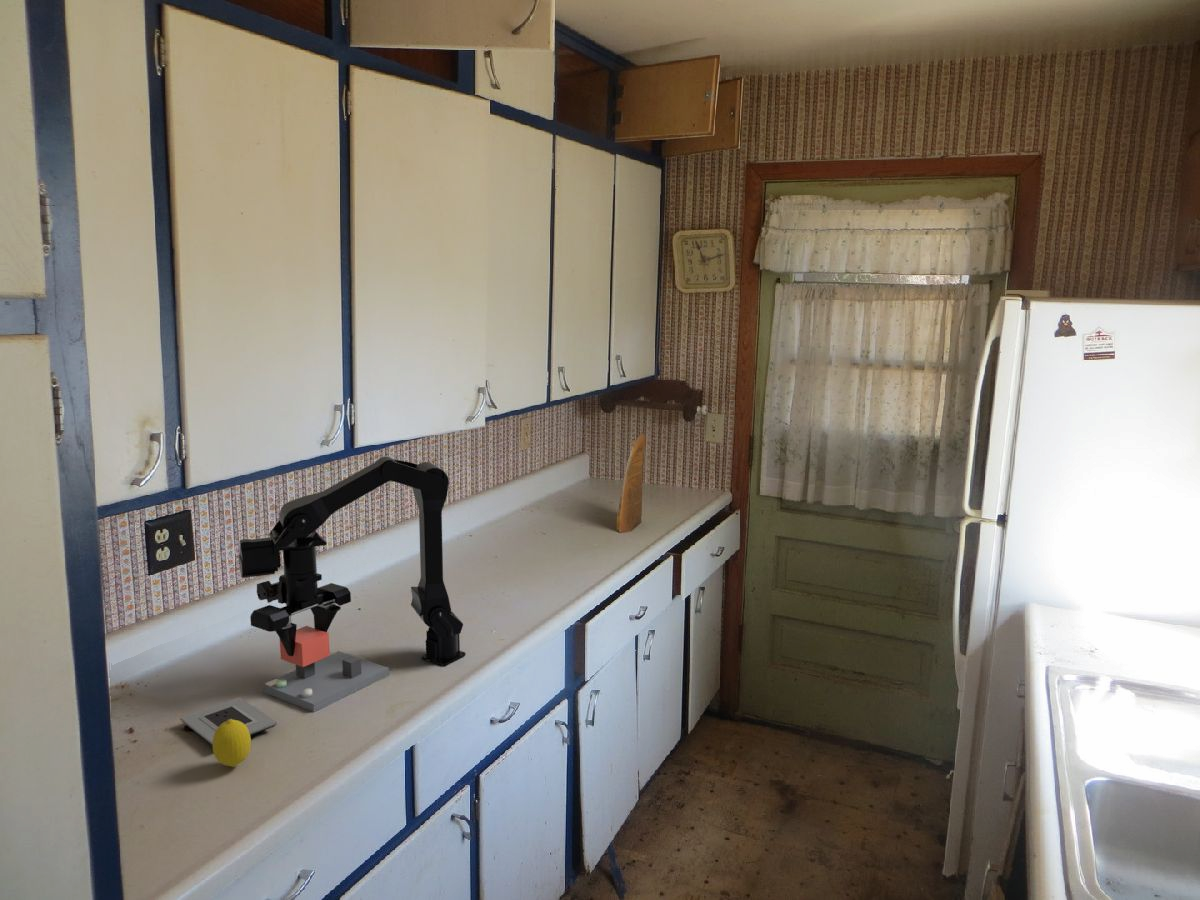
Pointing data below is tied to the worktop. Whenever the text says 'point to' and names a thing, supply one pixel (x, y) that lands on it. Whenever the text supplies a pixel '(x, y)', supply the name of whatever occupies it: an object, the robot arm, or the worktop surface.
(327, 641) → the cap
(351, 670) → the dark grey small block
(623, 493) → the wooden fin shape
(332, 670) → the panel
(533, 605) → the worktop surface
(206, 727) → the electrical outlet
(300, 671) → the dark gray block
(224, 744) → the lemon
